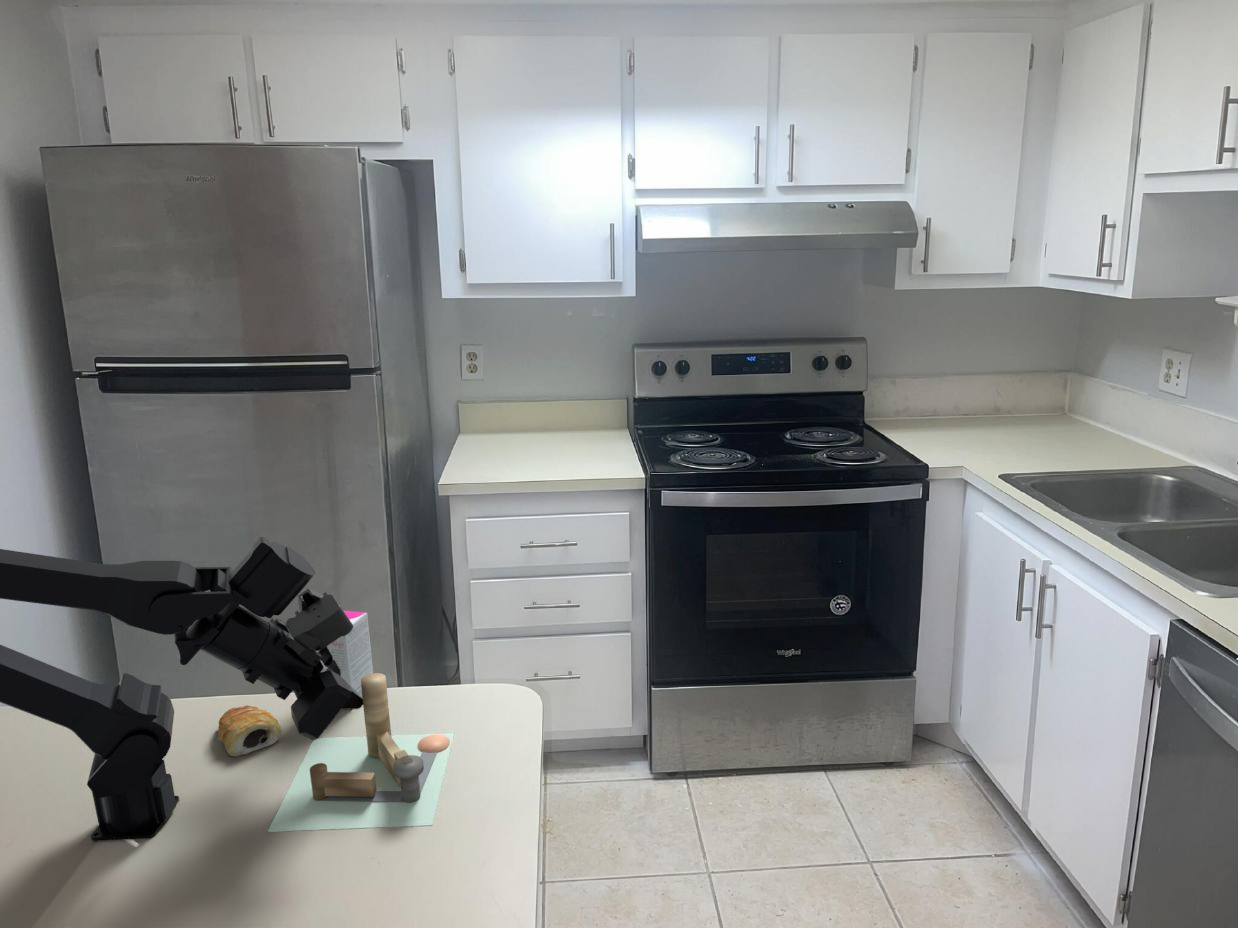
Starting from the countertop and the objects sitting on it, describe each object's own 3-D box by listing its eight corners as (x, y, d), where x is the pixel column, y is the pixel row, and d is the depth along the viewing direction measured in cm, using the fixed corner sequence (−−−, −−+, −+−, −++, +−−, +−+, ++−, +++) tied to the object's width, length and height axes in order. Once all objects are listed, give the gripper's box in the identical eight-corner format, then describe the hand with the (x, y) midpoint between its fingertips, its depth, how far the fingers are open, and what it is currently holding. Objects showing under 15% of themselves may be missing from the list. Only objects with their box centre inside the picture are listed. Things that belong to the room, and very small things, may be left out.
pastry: (207, 730, 112) (203, 703, 111) (262, 712, 116) (259, 685, 115) (231, 764, 105) (227, 735, 104) (288, 743, 109) (285, 715, 108)
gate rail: (430, 796, 97) (424, 720, 94) (402, 807, 95) (394, 729, 93) (389, 740, 107) (382, 670, 105) (363, 749, 106) (355, 678, 103)
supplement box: (376, 688, 120) (368, 611, 117) (352, 711, 115) (344, 631, 112) (338, 683, 122) (330, 606, 119) (313, 705, 116) (303, 626, 113)
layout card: (267, 833, 92) (267, 830, 92) (314, 740, 109) (314, 737, 109) (432, 827, 93) (432, 823, 93) (454, 735, 109) (454, 732, 109)
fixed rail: (422, 791, 98) (420, 763, 97) (417, 802, 96) (415, 775, 96) (316, 789, 99) (313, 762, 98) (310, 801, 97) (306, 773, 96)
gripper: (322, 618, 89) (434, 685, 98) (283, 553, 104) (383, 616, 113) (247, 710, 87) (368, 769, 96) (218, 630, 102) (325, 688, 111)
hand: (362, 704), depth 104 cm, fingers closed, pressing on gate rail
